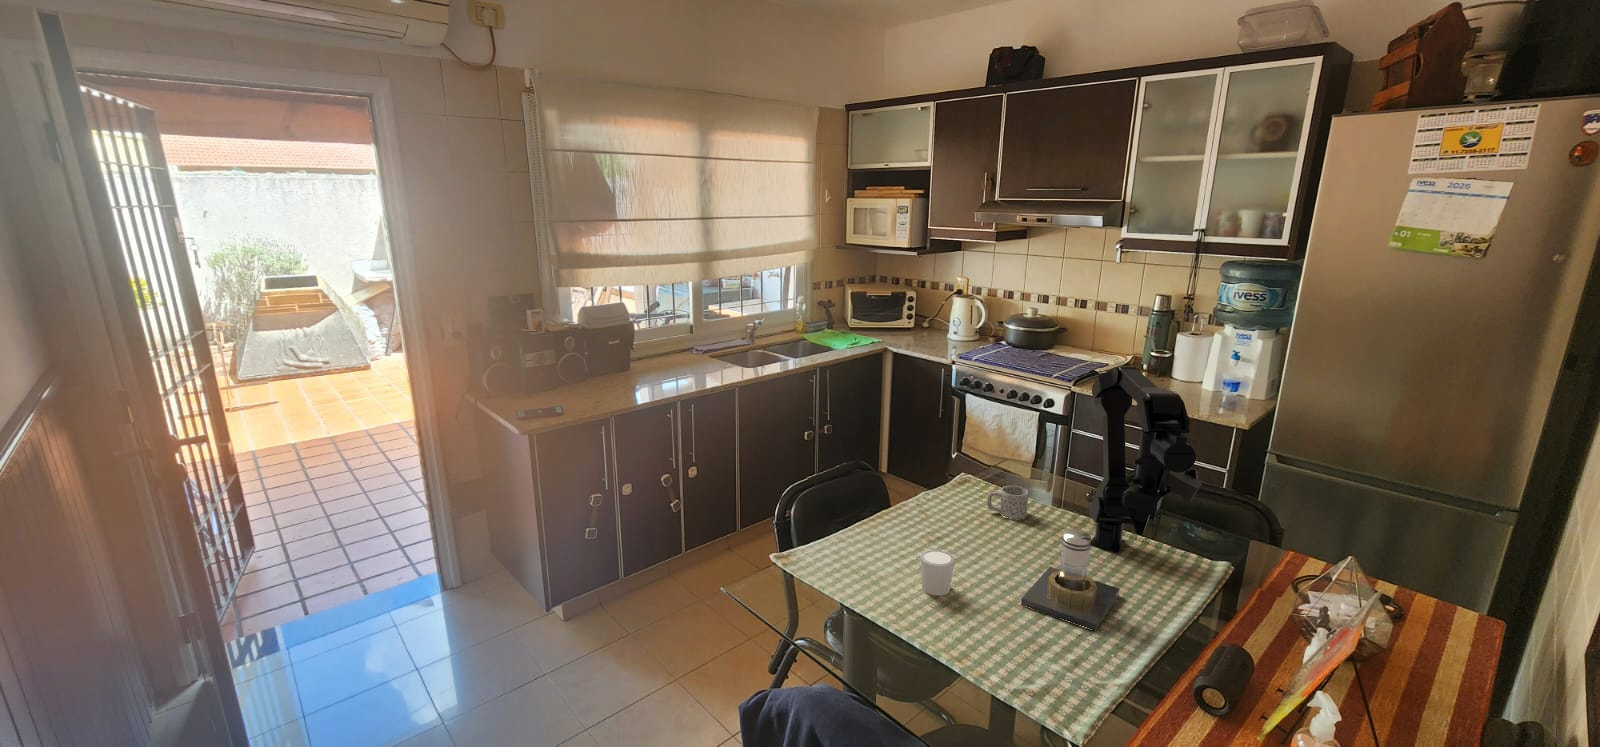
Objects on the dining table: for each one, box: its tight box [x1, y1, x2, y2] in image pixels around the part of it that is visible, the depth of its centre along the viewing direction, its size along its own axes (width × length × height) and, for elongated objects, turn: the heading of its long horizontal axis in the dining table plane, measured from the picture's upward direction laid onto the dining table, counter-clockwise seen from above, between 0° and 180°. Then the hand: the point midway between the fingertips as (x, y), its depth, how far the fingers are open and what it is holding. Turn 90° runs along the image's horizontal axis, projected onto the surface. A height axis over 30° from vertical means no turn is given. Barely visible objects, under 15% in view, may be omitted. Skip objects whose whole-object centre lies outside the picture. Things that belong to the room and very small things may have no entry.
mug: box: [986, 485, 1029, 520], centre depth 173 cm, size 10×7×7 cm, turn 77°
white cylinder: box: [919, 549, 956, 597], centre depth 137 cm, size 7×7×7 cm
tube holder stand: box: [1020, 566, 1121, 632], centre depth 133 cm, size 16×14×4 cm
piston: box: [1058, 528, 1092, 591], centre depth 132 cm, size 5×5×12 cm
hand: (1145, 526), depth 137 cm, fingers open, 9 cm apart
